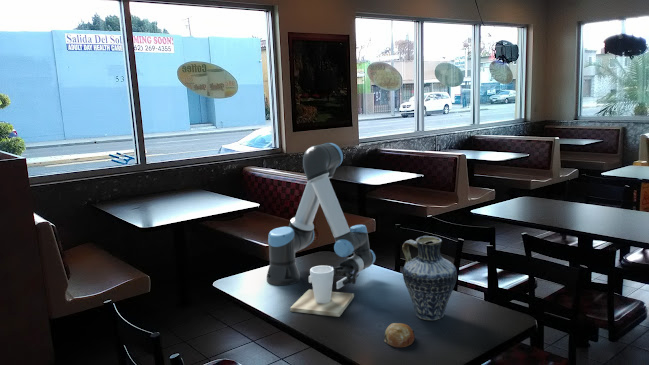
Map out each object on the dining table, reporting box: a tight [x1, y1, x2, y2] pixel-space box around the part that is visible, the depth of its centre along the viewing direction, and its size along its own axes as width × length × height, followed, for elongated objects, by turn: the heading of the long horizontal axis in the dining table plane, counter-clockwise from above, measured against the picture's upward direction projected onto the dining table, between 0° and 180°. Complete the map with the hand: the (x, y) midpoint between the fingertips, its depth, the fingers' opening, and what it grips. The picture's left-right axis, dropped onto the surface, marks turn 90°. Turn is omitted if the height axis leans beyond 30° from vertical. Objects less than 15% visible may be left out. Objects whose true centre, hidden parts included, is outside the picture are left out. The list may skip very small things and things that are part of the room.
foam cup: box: [309, 265, 335, 303], centre depth 211 cm, size 10×9×13 cm
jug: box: [401, 235, 458, 321], centre depth 195 cm, size 21×19×30 cm
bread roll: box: [384, 322, 416, 348], centre depth 179 cm, size 10×10×8 cm
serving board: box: [290, 288, 355, 318], centre depth 212 cm, size 20×20×2 cm
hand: (323, 282), depth 211 cm, fingers open, 13 cm apart
